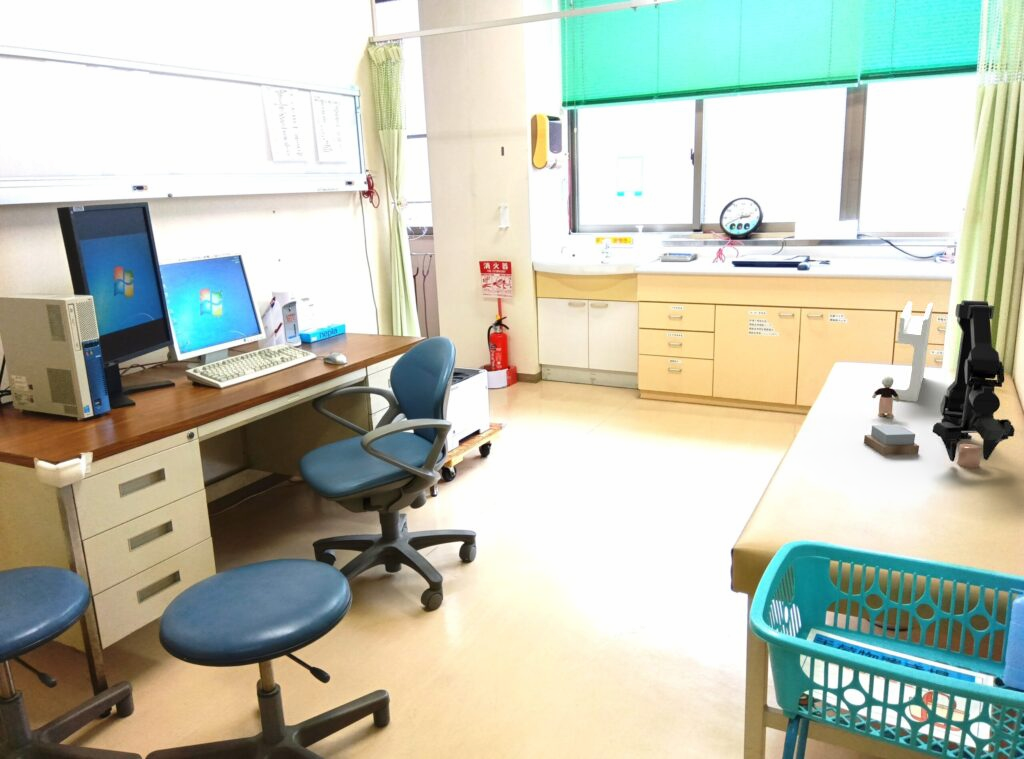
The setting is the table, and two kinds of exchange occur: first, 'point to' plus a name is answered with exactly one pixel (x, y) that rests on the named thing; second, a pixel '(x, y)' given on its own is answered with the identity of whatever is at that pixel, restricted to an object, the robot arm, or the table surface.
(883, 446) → the walnut base slab
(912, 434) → the grey top slab
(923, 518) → the table surface
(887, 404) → the grandmother figurine
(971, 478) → the table surface
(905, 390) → the white forked cradle stand
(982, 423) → the robot arm
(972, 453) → the peach domed cylinder
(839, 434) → the table surface
